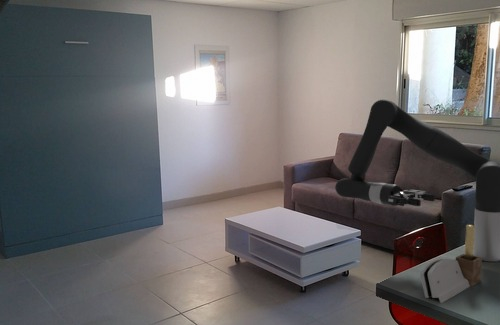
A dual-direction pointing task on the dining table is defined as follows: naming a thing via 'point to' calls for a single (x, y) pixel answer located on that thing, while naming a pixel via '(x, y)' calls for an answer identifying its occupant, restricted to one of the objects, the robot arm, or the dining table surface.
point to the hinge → (443, 279)
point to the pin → (469, 242)
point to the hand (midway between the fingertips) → (427, 200)
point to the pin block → (470, 268)
